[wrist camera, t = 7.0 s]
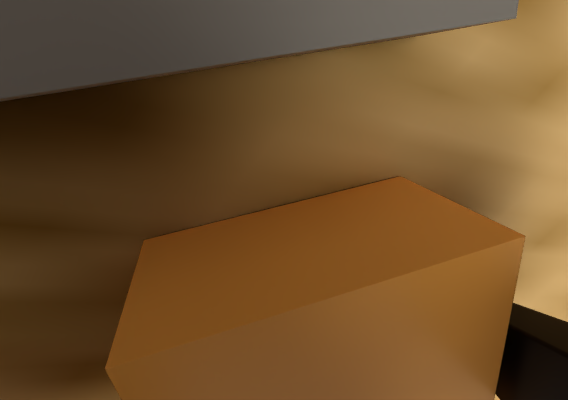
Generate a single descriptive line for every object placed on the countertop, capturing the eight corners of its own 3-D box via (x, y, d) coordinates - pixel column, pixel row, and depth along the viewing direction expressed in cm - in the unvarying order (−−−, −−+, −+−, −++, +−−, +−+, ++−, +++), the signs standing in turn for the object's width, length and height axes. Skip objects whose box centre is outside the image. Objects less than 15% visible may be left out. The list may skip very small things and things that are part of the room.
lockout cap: (212, 420, 10) (221, 583, 7) (143, 240, 8) (104, 369, 4) (399, 351, 12) (482, 462, 8) (400, 176, 9) (525, 236, 6)
